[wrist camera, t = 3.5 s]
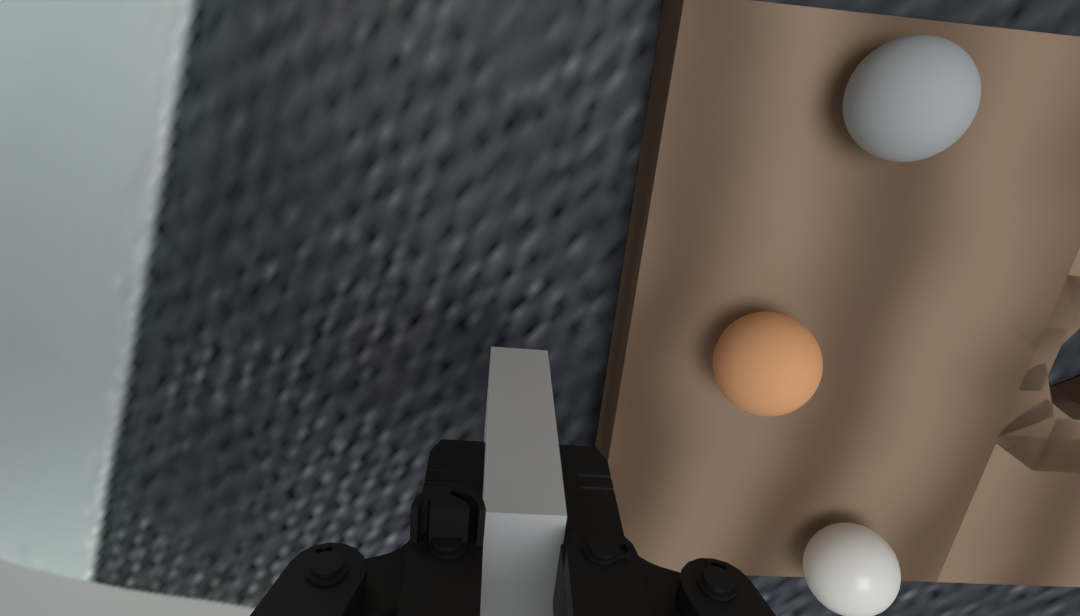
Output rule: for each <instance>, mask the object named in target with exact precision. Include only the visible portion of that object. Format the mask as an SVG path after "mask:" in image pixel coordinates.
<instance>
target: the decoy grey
mask: <svg viewBox="0 0 1080 616" xmlns="http://www.w3.org/2000/svg"><path fill="white" fill-rule="evenodd" d="M980 98H981V80H980V76H979V72H978V70H977V67H976V65H975V63H974V61H973V60H972V58H971V57H970V56H969V55H968V54H967V52H966V51H965V50H964V49H962V48H961V47H960V46H959V45H957V44H955V43H953V42H952V41H950V40H948V39H945V38H942V37H938V36H933V35H923V34H919V35H909V36H904V37H900V38H897V39H894V40H892V41H889V42H887V43H885V44H883V45H881V46H880V47H878V48H877V49H875V50H874V51H872V52H871V53H870V54H869V55H867V56H866V57H865V58H864V59H863V60H862V61H861V62H860V64H859V65H858V66H857V68H856V69H855V70H854V72H853V74H852V75H851V77H850V79H849V81H848V83H847V86H846V89H845V93H844V98H843V117H844V121H845V124H846V127H847V129H848V131H849V133H850V135H851V137H852V138H853V139H854V141H855V142H856V143H857V144H858V145H859V146H860V147H861V148H862V149H864V150H865V151H866V152H868V153H870V154H871V155H873V156H875V157H878V158H881V159H884V160H888V161H894V162H911V161H917V160H921V159H925V158H928V157H931V156H934V155H936V154H938V153H940V152H942V151H944V150H945V149H947V148H948V147H950V146H951V145H952V144H954V143H955V142H956V141H957V140H958V139H959V138H960V137H961V136H962V135H963V134H964V133H965V131H966V130H967V129H968V128H969V126H970V125H971V123H972V121H973V119H974V117H975V115H976V113H977V110H978V107H979V104H980Z"/></svg>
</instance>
